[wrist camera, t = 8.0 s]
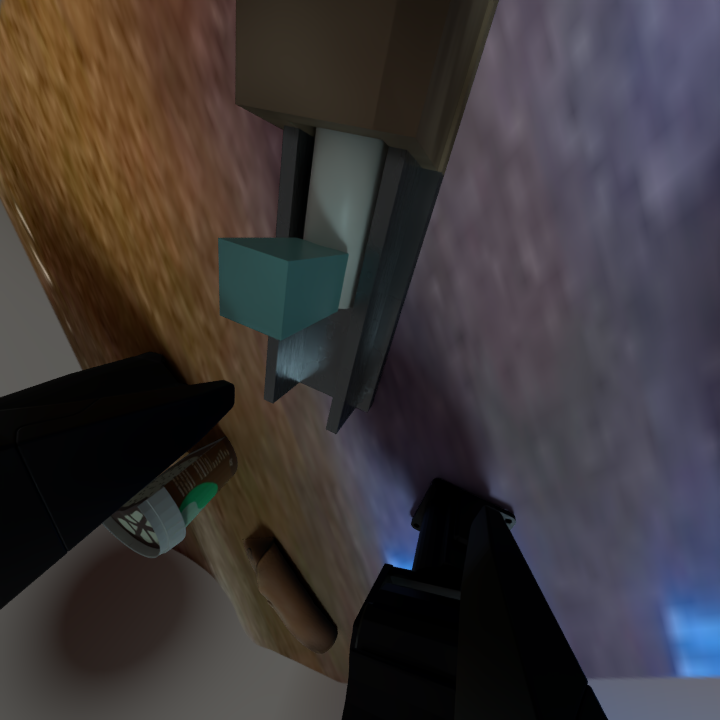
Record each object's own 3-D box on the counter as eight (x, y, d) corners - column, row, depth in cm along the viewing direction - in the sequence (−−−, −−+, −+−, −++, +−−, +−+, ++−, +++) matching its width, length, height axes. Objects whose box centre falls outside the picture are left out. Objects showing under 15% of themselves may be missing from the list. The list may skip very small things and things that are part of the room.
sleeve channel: (371, 405, 22) (349, 440, 19) (288, 369, 24) (252, 393, 21) (443, 175, 15) (430, 154, 11) (314, 148, 17) (266, 121, 13)
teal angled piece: (365, 300, 18) (287, 343, 11) (316, 283, 19) (214, 312, 11) (437, 4, 12) (366, -371, 4) (359, -2, 12) (194, -323, 5)
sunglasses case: (237, 537, 41) (219, 580, 34) (280, 514, 41) (269, 553, 34) (299, 622, 44) (293, 676, 37) (338, 601, 44) (339, 651, 37)
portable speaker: (133, 379, 35) (-185, 507, 18) (148, 330, 30) (-271, 446, 13) (181, 427, 35) (-93, 600, 18) (204, 387, 30) (-143, 573, 13)
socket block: (443, 175, 15) (420, 139, 9) (314, 148, 17) (231, 103, 11) (505, -20, 12) (528, -263, 6) (336, -28, 13) (231, -218, 8)
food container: (211, 491, 38) (134, 563, 30) (184, 456, 37) (97, 520, 29) (263, 475, 32) (185, 561, 24) (232, 432, 31) (139, 506, 23)
